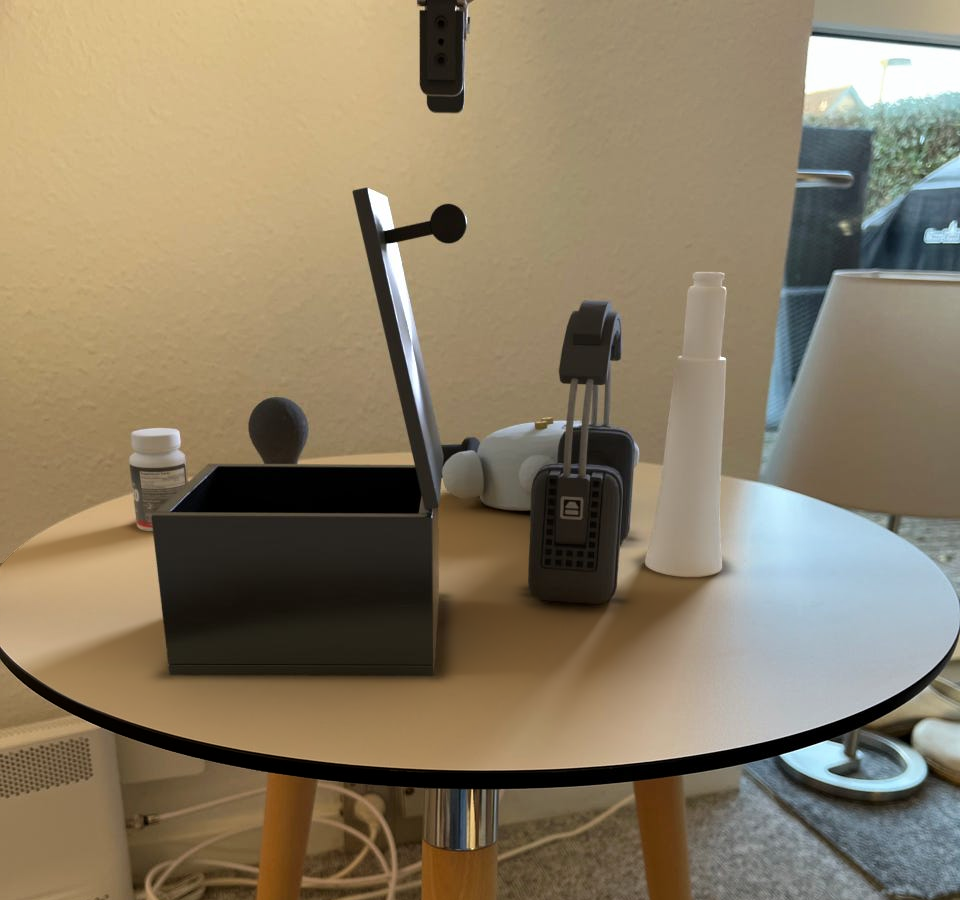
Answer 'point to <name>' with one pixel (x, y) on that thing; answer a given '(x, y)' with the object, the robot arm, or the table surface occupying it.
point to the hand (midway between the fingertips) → (443, 104)
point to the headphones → (583, 475)
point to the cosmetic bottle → (694, 442)
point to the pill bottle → (155, 471)
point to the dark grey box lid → (407, 323)
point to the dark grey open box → (299, 571)
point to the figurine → (504, 463)
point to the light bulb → (278, 430)
